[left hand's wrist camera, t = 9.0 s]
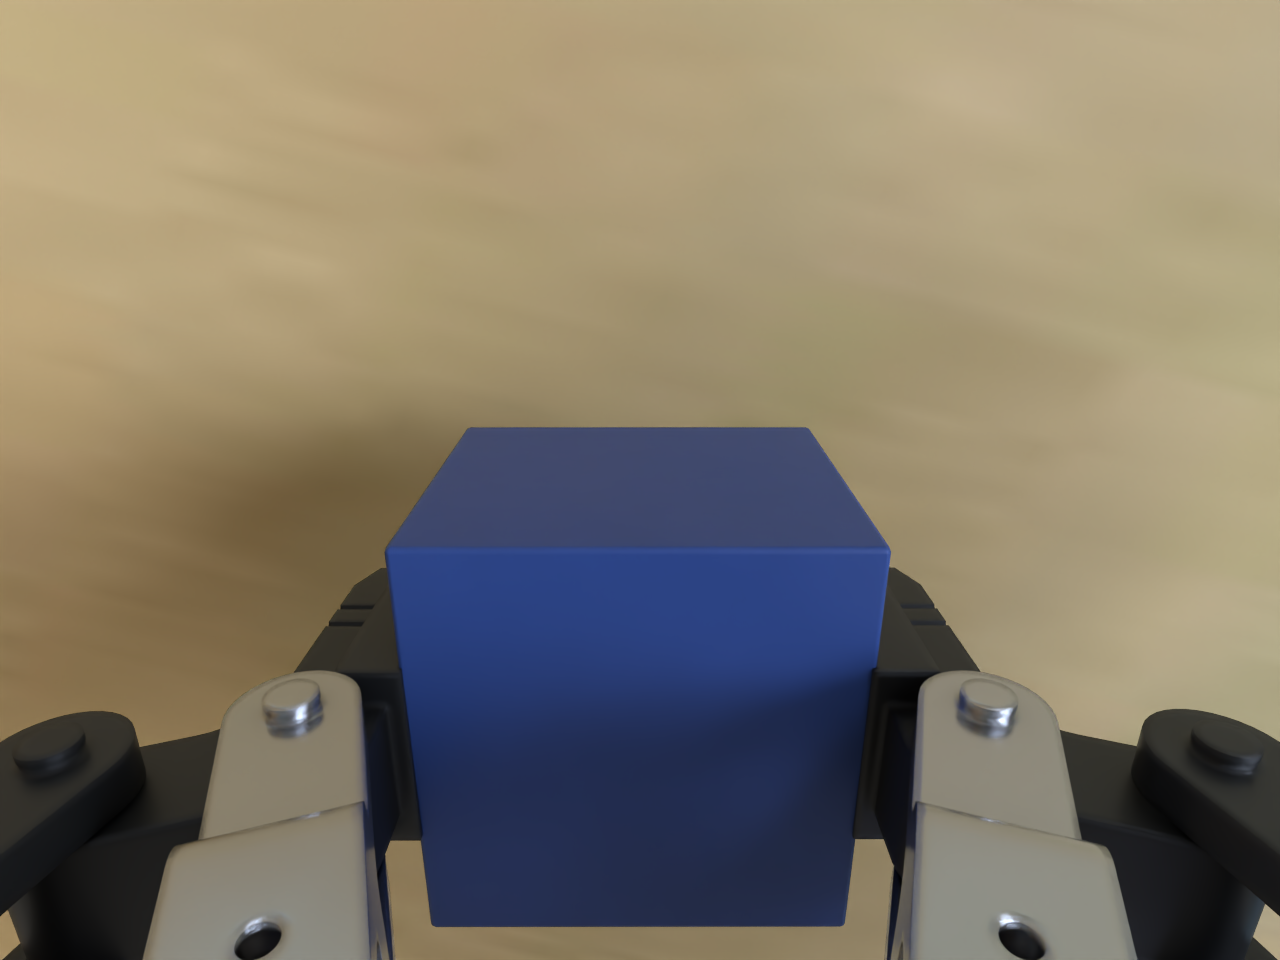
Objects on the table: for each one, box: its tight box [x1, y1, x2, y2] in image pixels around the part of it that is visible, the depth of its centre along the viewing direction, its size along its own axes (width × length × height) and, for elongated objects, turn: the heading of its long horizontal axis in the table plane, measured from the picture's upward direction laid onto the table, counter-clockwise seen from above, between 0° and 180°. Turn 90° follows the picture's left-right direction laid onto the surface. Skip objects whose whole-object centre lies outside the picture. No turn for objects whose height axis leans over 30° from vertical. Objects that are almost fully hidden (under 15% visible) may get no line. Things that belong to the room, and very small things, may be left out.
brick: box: [385, 427, 891, 927], centre depth 10 cm, size 5×5×4 cm
